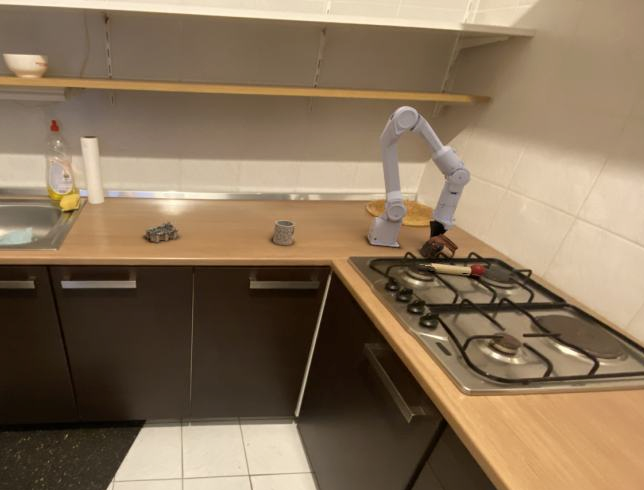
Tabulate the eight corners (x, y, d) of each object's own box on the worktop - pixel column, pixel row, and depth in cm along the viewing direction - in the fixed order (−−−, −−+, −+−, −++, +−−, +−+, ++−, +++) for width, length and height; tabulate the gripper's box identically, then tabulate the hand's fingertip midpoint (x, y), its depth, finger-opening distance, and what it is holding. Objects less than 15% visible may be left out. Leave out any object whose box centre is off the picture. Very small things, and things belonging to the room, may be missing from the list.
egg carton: (170, 231, 139) (170, 220, 137) (180, 238, 134) (180, 227, 132) (143, 236, 134) (143, 224, 132) (152, 243, 129) (152, 231, 127)
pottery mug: (420, 248, 135) (439, 230, 131) (441, 267, 132) (462, 249, 128) (414, 249, 126) (435, 230, 122) (437, 270, 123) (460, 251, 119)
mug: (294, 244, 133) (297, 226, 129) (276, 245, 132) (279, 226, 128) (284, 234, 141) (287, 216, 138) (267, 234, 140) (269, 217, 137)
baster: (419, 273, 117) (424, 263, 115) (417, 265, 120) (422, 255, 117) (482, 280, 115) (489, 270, 112) (478, 271, 118) (485, 262, 115)
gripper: (469, 211, 119) (453, 252, 126) (452, 199, 132) (438, 236, 138) (445, 209, 120) (430, 249, 127) (430, 197, 133) (417, 234, 139)
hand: (433, 242), depth 133 cm, fingers closed
